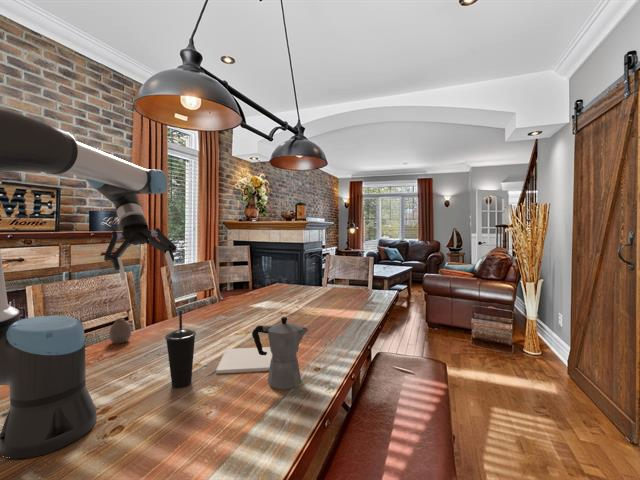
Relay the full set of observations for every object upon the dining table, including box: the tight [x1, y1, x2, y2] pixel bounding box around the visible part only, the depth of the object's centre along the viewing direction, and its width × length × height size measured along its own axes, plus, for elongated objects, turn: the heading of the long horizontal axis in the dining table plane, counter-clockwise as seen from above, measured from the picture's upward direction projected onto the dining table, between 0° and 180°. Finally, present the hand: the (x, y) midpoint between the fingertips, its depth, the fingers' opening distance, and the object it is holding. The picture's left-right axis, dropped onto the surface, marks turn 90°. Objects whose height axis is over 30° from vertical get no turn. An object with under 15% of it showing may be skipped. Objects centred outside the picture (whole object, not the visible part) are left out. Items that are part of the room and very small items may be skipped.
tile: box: [215, 346, 272, 374], centre depth 98 cm, size 16×16×1 cm
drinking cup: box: [164, 310, 197, 389], centre depth 83 cm, size 8×8×20 cm
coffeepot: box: [251, 316, 309, 391], centre depth 84 cm, size 15×9×18 cm, turn 89°
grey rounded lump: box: [108, 317, 132, 345], centre depth 114 cm, size 7×7×9 cm
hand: (149, 273), depth 94 cm, fingers open, 13 cm apart
